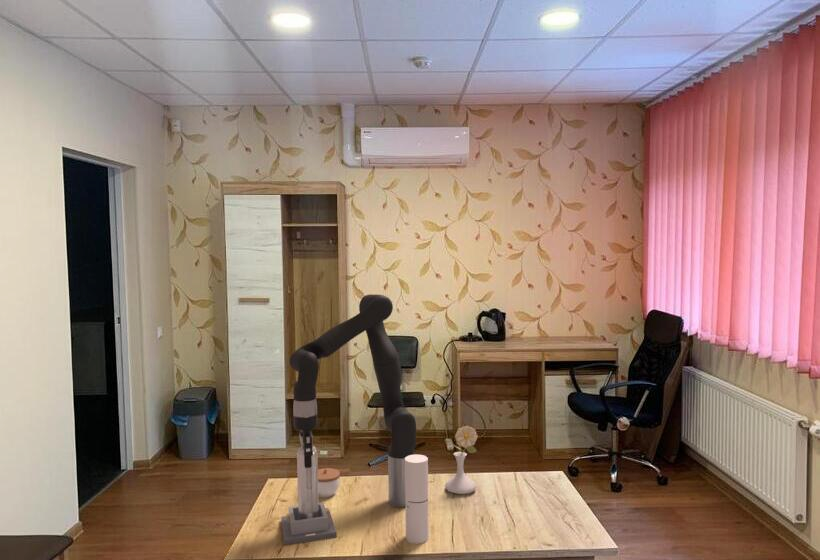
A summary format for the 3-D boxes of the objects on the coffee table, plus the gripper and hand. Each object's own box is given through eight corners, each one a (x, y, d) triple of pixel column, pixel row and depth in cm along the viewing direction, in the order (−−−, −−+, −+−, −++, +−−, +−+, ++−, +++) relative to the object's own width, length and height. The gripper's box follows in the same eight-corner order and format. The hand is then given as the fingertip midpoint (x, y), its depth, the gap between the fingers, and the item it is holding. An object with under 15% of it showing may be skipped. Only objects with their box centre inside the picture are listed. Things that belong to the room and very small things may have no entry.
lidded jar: (318, 503, 201) (317, 477, 200) (306, 492, 210) (306, 467, 209) (345, 495, 206) (344, 470, 206) (332, 485, 215) (332, 461, 215)
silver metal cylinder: (321, 520, 184) (320, 445, 183) (314, 529, 178) (312, 451, 177) (303, 518, 185) (301, 443, 184) (295, 528, 179) (293, 450, 178)
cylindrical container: (421, 545, 170) (420, 464, 169) (401, 539, 174) (400, 460, 173) (433, 535, 176) (432, 457, 175) (413, 529, 180) (412, 453, 179)
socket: (329, 514, 191) (329, 498, 191) (336, 536, 176) (336, 519, 176) (281, 521, 187) (281, 505, 187) (284, 544, 172) (284, 527, 171)
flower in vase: (439, 492, 208) (438, 425, 207) (455, 482, 217) (454, 418, 216) (470, 500, 201) (469, 431, 200) (485, 489, 210) (484, 423, 209)
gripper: (291, 408, 186) (293, 456, 186) (295, 420, 172) (296, 472, 173) (314, 406, 188) (315, 453, 188) (319, 417, 174) (321, 469, 175)
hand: (306, 462), depth 181 cm, fingers open, 8 cm apart
